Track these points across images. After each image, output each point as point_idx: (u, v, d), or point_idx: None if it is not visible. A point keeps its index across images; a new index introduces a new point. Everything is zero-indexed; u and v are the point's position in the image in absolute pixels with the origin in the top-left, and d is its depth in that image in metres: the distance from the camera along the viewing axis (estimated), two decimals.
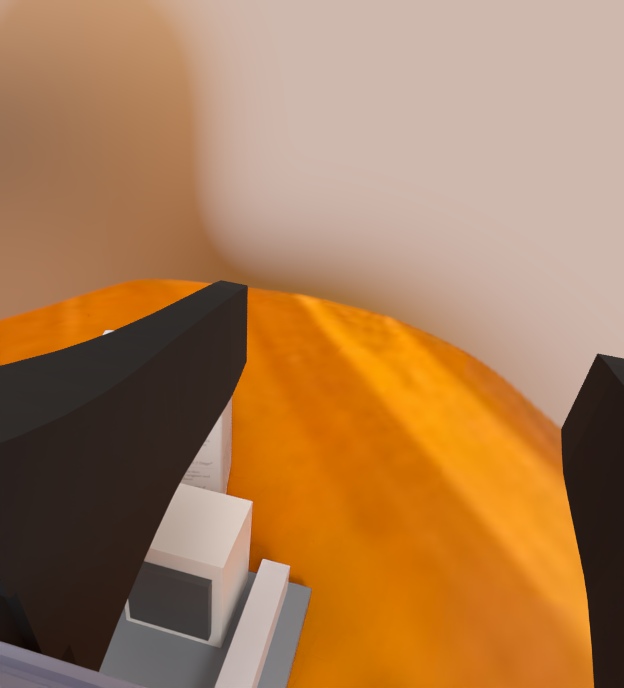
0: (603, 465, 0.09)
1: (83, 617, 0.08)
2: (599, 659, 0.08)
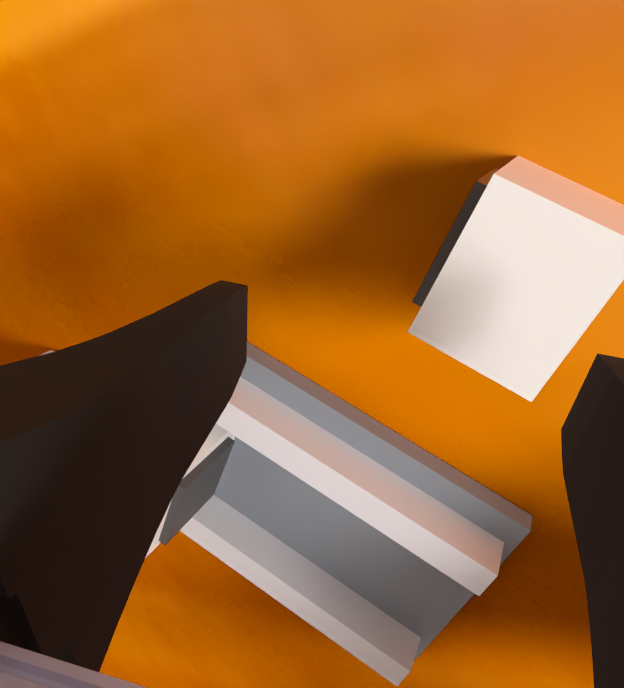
0: (602, 465, 0.09)
1: (83, 617, 0.08)
2: (599, 659, 0.08)
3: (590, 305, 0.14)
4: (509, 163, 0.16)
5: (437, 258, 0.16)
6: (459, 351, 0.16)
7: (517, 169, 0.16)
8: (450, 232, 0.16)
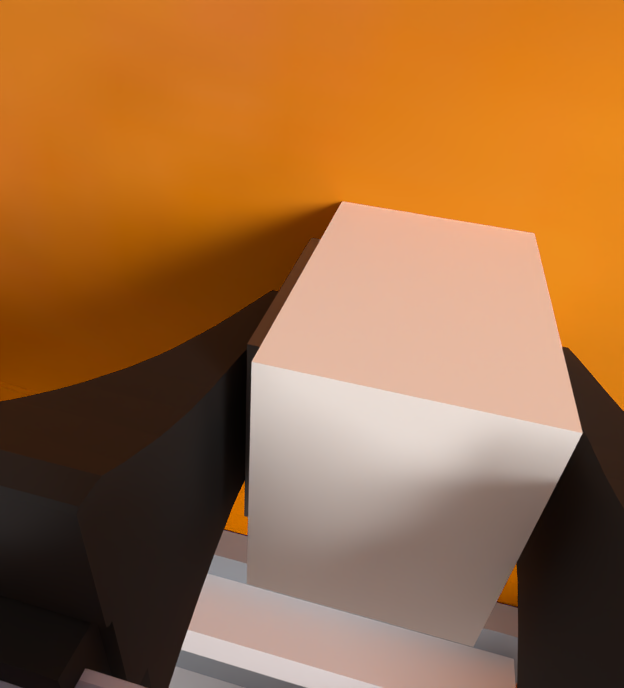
0: None
1: (159, 640, 0.07)
2: (522, 638, 0.08)
3: (512, 525, 0.07)
4: (312, 258, 0.09)
5: (248, 459, 0.09)
6: (334, 600, 0.09)
7: (324, 272, 0.09)
8: (248, 422, 0.09)
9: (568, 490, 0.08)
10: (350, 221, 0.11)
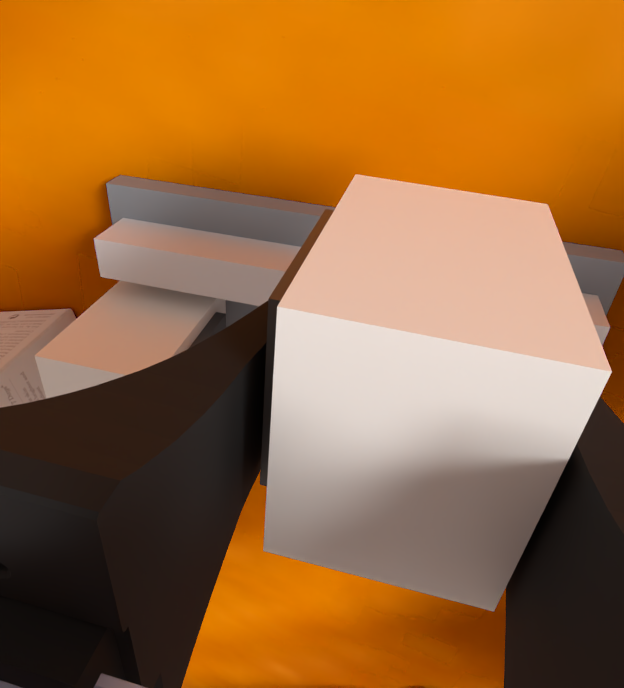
0: None
1: (171, 644, 0.07)
2: (510, 635, 0.08)
3: (538, 475, 0.07)
4: (330, 221, 0.09)
5: (266, 422, 0.09)
6: (353, 565, 0.09)
7: (343, 233, 0.09)
8: (267, 382, 0.09)
9: None
10: (365, 191, 0.11)
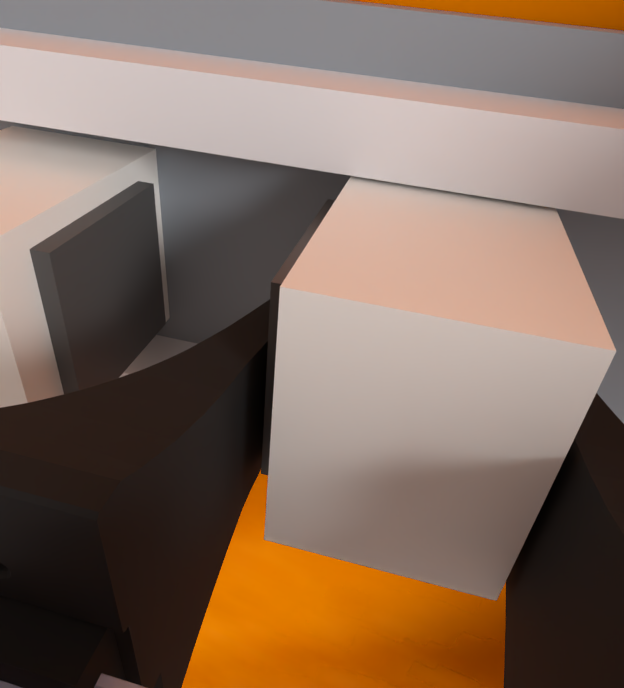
0: None
1: (172, 644, 0.07)
2: (509, 635, 0.08)
3: (541, 459, 0.07)
4: (332, 208, 0.09)
5: (267, 409, 0.09)
6: (354, 553, 0.09)
7: (346, 219, 0.09)
8: (269, 368, 0.09)
9: (554, 487, 0.08)
10: (367, 181, 0.11)
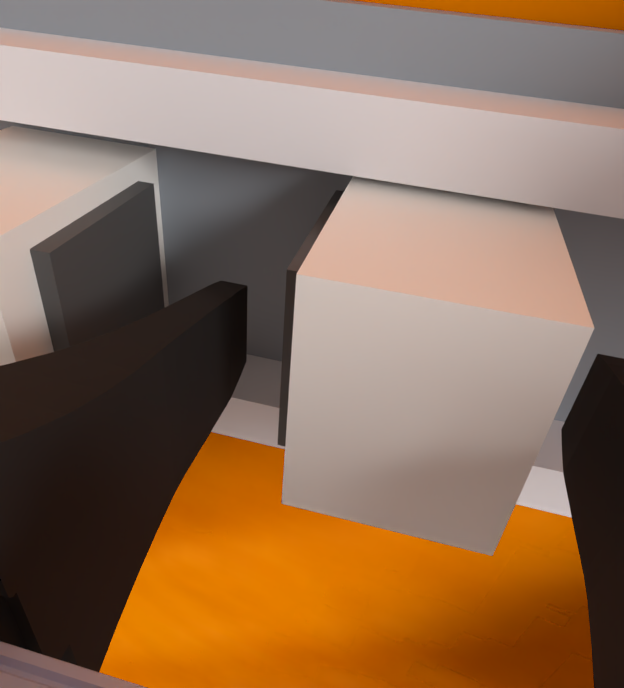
0: (603, 465, 0.09)
1: (83, 617, 0.08)
2: (599, 659, 0.08)
3: (530, 426, 0.08)
4: (341, 200, 0.10)
5: (283, 385, 0.10)
6: (364, 515, 0.10)
7: (353, 211, 0.10)
8: (285, 348, 0.10)
9: None
10: None
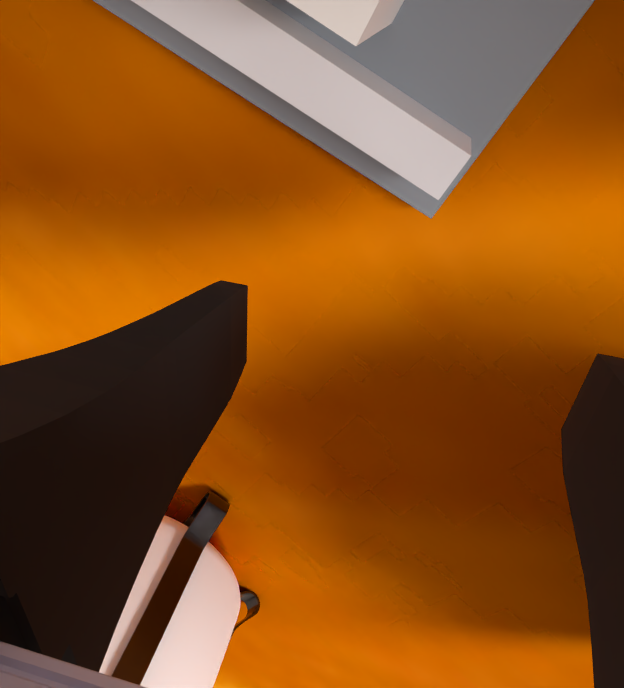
0: (603, 465, 0.09)
1: (83, 617, 0.08)
2: (599, 659, 0.08)
3: None
4: None
5: None
6: None
7: None
8: None
9: None
10: None
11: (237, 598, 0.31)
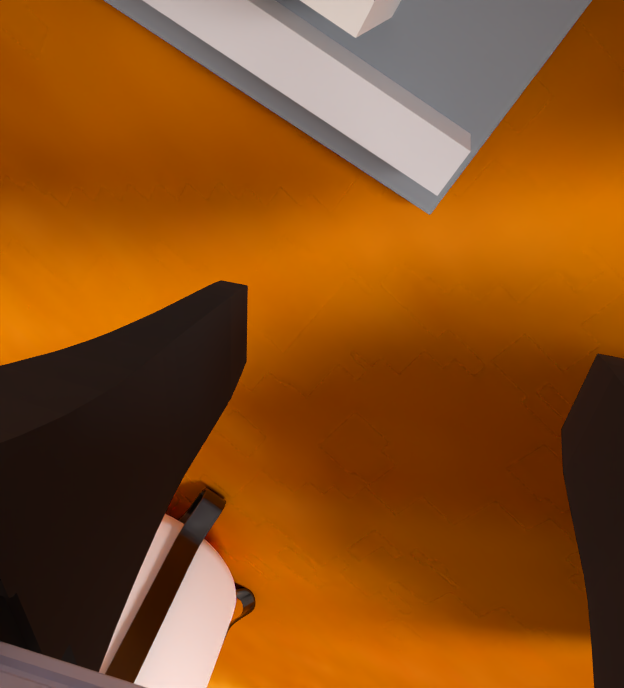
0: (602, 465, 0.09)
1: (83, 617, 0.08)
2: (599, 659, 0.08)
3: None
4: None
5: None
6: None
7: None
8: None
9: None
10: None
11: (233, 595, 0.31)
